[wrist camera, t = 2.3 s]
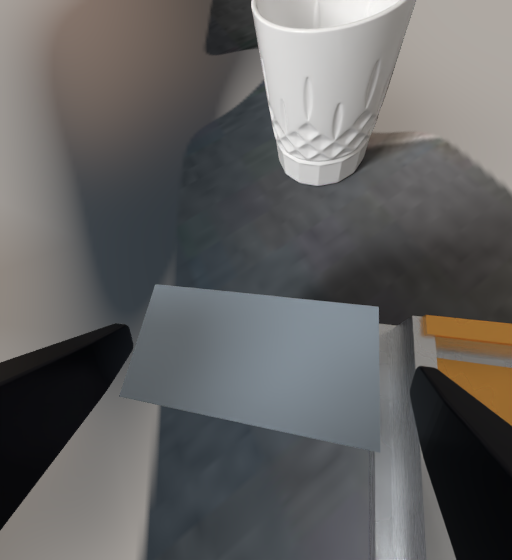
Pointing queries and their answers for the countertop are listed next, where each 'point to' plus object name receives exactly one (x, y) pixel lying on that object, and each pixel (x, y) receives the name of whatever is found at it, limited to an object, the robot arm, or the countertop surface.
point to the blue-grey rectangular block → (262, 362)
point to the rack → (403, 432)
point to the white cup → (327, 78)
